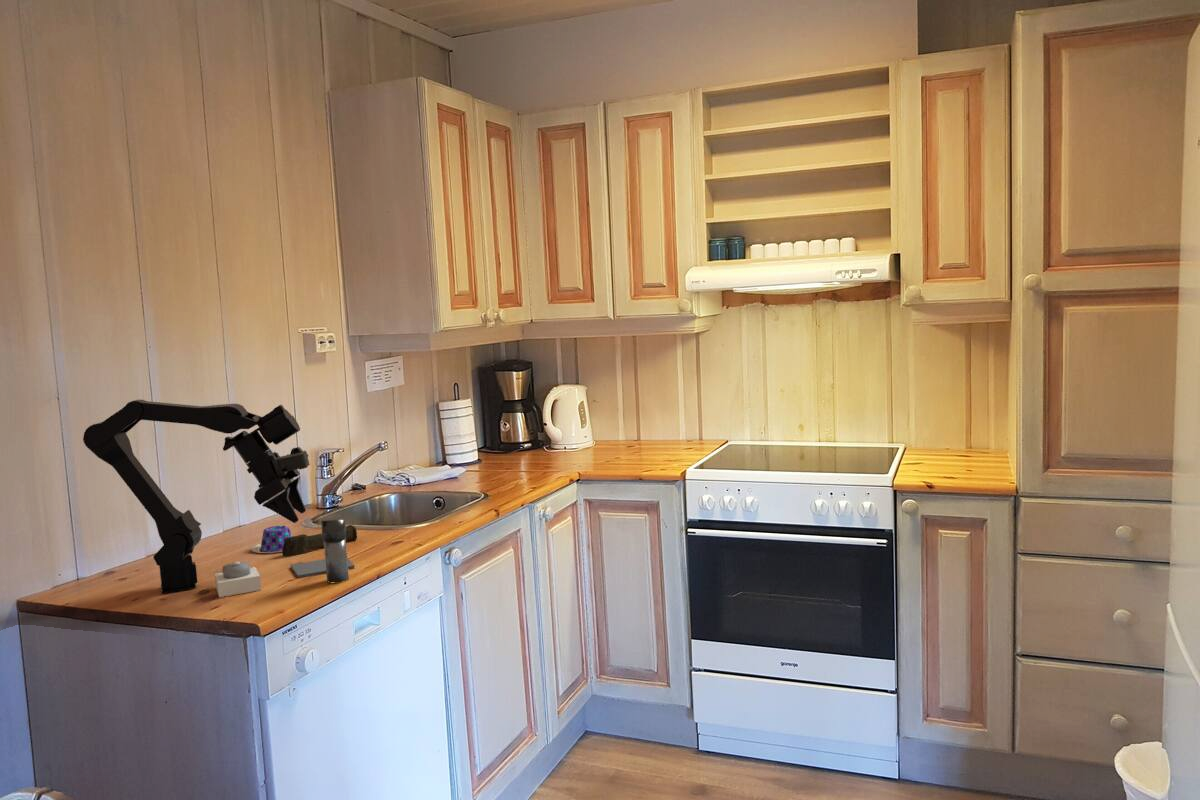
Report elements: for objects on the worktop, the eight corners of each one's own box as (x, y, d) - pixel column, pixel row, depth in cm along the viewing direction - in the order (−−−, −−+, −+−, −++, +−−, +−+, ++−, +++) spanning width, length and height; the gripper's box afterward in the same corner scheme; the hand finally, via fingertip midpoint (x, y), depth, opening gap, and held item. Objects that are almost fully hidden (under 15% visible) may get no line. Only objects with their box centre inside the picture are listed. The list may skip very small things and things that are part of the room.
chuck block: (219, 597, 181) (216, 570, 181) (216, 587, 188) (213, 561, 188) (261, 589, 185) (258, 563, 184) (256, 580, 192) (254, 555, 191)
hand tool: (350, 539, 225) (348, 521, 225) (358, 541, 222) (357, 523, 222) (278, 556, 212) (276, 537, 211) (285, 559, 209) (284, 540, 209)
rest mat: (298, 578, 192) (297, 575, 192) (290, 567, 201) (290, 564, 201) (354, 568, 197) (354, 565, 197) (345, 558, 206) (345, 555, 206)
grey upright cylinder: (328, 585, 186) (323, 523, 184) (324, 579, 190) (319, 519, 189) (352, 580, 188) (347, 520, 187) (347, 575, 192) (342, 516, 191)
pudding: (280, 556, 212) (278, 535, 211) (240, 554, 216) (238, 533, 215) (313, 543, 223) (311, 523, 222) (274, 541, 227) (272, 521, 227)
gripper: (283, 442, 181) (326, 505, 184) (298, 430, 199) (338, 488, 202) (234, 472, 180) (279, 535, 183) (255, 457, 198) (295, 515, 201)
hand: (300, 516), depth 192 cm, fingers open, 9 cm apart
